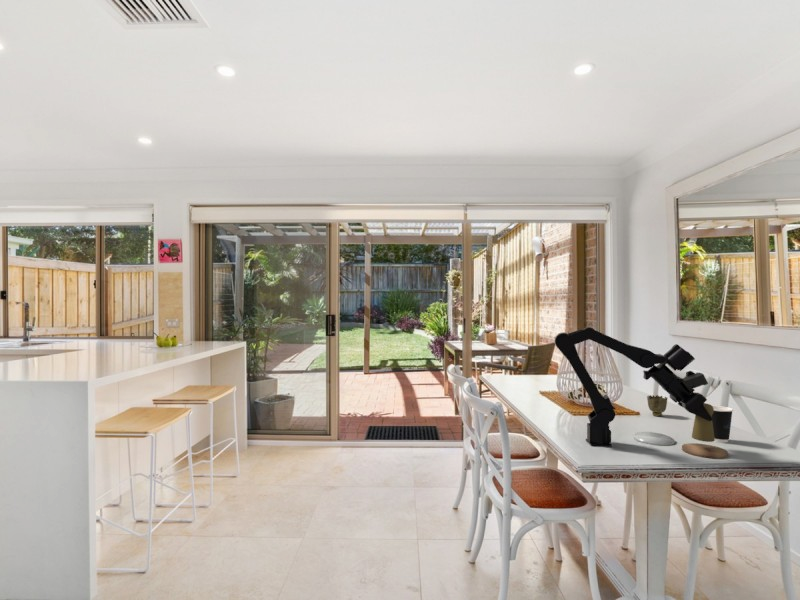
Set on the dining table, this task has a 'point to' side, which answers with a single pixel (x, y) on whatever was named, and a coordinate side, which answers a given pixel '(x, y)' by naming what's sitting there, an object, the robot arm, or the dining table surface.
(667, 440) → the grey round disc
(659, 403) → the cup
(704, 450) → the walnut trivet
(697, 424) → the olive chess pawn
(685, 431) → the dining table surface
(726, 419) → the dixie cup
